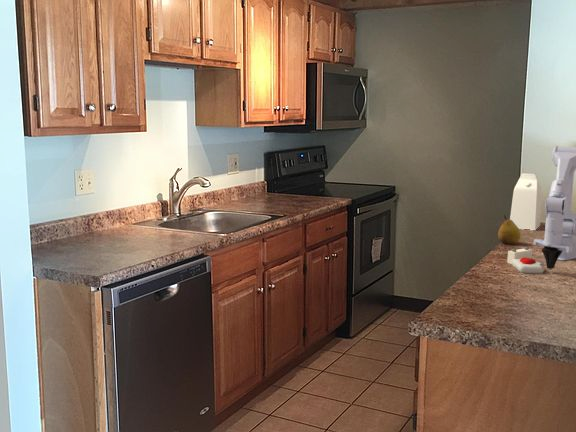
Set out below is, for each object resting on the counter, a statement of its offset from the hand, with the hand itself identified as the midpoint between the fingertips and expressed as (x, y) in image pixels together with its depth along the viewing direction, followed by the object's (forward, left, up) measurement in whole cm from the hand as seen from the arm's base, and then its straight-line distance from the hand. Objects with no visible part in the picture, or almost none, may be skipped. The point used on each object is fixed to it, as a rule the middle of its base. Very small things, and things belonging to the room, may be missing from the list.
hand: (550, 268), depth 228 cm
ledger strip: (-2, -15, -1) cm, 15 cm away
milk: (-60, -60, -2) cm, 85 cm away
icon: (+3, -6, -2) cm, 7 cm away
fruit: (-25, -40, -2) cm, 47 cm away
